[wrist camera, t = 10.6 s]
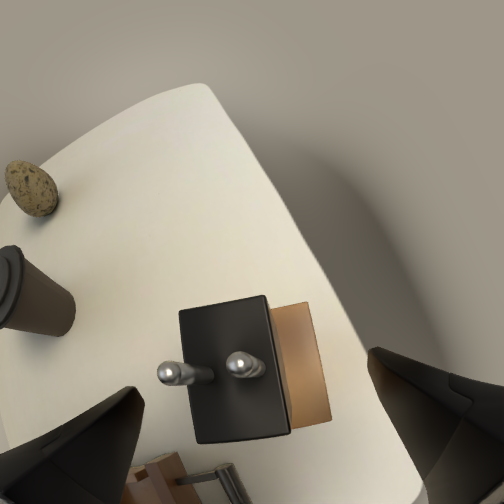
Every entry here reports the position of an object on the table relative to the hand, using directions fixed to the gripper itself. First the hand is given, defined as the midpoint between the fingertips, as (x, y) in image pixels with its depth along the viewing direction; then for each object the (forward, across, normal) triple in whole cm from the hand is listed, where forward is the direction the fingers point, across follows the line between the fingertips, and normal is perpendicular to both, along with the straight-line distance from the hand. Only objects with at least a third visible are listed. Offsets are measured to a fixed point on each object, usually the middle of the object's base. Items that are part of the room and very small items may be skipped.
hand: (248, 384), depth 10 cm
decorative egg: (+26, -26, +8) cm, 38 cm away
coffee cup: (+15, -22, -3) cm, 27 cm away
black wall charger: (+2, 0, -2) cm, 3 cm away
